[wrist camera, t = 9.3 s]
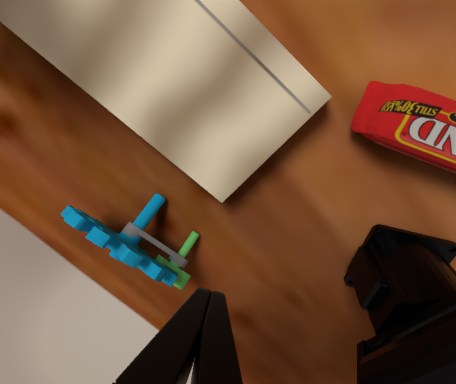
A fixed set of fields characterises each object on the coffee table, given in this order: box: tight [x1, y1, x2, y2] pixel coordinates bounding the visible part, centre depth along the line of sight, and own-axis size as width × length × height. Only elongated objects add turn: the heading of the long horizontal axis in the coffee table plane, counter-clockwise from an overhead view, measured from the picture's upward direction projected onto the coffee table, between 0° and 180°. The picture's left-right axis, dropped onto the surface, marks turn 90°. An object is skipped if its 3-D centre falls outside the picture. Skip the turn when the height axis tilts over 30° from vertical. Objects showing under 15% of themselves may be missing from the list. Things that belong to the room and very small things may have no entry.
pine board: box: [0, 0, 332, 203], centre depth 16 cm, size 23×10×2 cm, turn 50°
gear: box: [61, 193, 200, 290], centre depth 22 cm, size 11×6×10 cm
